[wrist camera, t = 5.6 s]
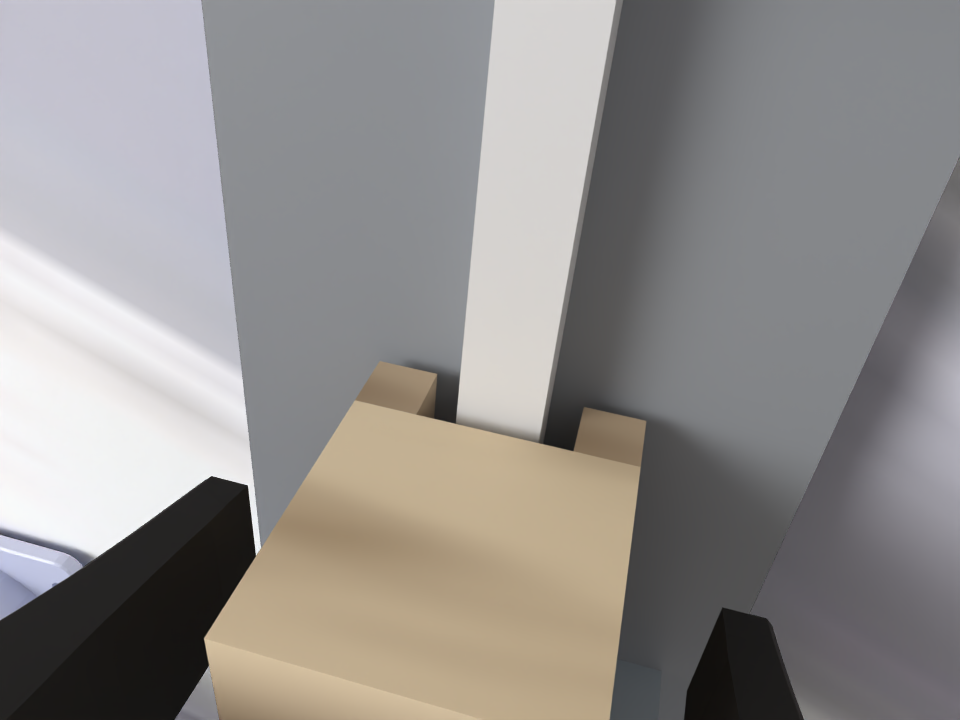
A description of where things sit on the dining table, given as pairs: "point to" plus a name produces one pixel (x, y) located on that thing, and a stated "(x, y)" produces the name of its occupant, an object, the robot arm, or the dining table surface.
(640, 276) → the rail bench
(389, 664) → the carriage
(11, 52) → the dining table surface
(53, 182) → the dining table surface
